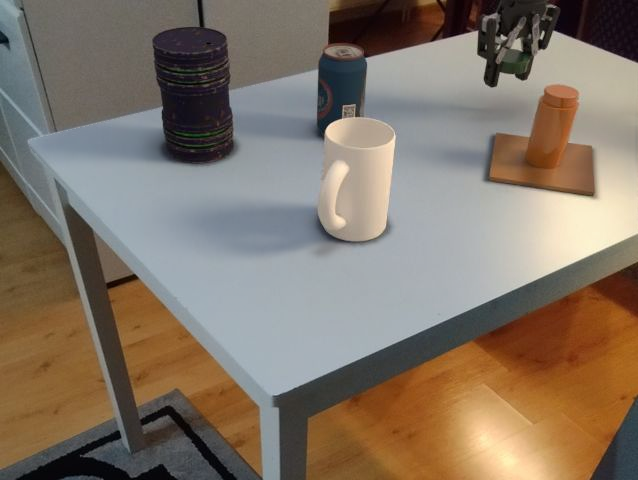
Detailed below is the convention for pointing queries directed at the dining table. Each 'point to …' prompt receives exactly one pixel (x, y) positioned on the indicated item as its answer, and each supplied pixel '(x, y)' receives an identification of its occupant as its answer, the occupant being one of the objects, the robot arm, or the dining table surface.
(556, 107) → the jar
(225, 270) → the dining table surface
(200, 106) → the dark ridged cylinder
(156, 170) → the dining table surface
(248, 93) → the dining table surface
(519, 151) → the mat
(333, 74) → the soda can
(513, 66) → the jar lid
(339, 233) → the mug
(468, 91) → the dining table surface
